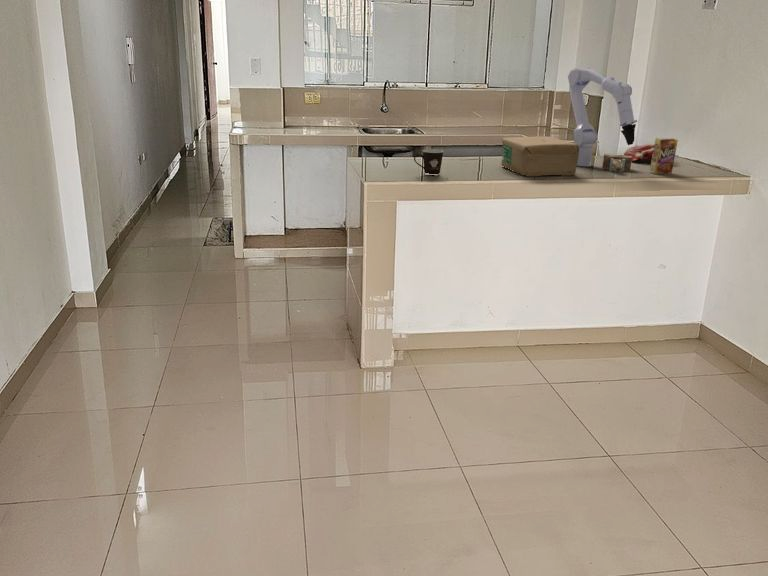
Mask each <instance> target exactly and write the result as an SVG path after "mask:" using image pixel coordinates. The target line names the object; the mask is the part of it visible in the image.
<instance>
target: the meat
mask: <svg viewBox="0 0 768 576" xmlns="http://www.w3.org/2000/svg"><path fill="white" fill-rule="evenodd" d="M654 144H655V143H649V144H648V143H647V144H642V145H639V144H638V145H637V144H636V145H634V146H631V147H628V148H627V149H626V150H625V152H623V153H624V154H623V155H625V156H632V162H633V161H637V160H641V159H642V160H652V155H653V150H654Z"/></svg>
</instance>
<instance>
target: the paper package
mask: <svg viewBox="0 0 768 576" xmlns="http://www.w3.org/2000/svg"><path fill="white" fill-rule="evenodd" d="M501 142H502V157H501V164H500V166H501V165H502V166H504V167H506V168H509V169H511V170H513V171H515V172H517V173H516V174H518V173H520V174H522V175H521V176H523V175H526V176H525V177H538V176H537V175H562V176H573V175H574V176H575V174H576V171H577V167H578V166H577V162H578V156H579V148H580V147H579V146H578V145H577V144H575V142H574V143H573V142H569V141H566V140H563V139H559V138H555V137H552V136H549V135H548V136H547V135H545V136H544V135H542V136H540V135H539V136H516V137H514V136H512V137H502V141H501ZM513 171H512V172H513ZM515 172H514V173H515ZM520 174H519V175H520Z"/></svg>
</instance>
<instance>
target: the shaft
mask: <svg viewBox="0 0 768 576" xmlns="http://www.w3.org/2000/svg"><path fill="white" fill-rule="evenodd" d="M623 168H624V165H623V163H622V162H621V160H613V165H612V169H613V171H612V172H615V173H622V172H621V171H622V170H623Z"/></svg>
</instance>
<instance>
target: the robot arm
mask: <svg viewBox="0 0 768 576" xmlns="http://www.w3.org/2000/svg"><path fill="white" fill-rule="evenodd" d="M567 78H568V79H567V80H568V84H569V88H568V90H569V91H568V92H569V95H570V100H571V106H572V109H573V110H572V111H573V114H574V119H575V122H576V123H575V124H576V128H575V129H574V130H573V135H574V136H573V142H574V144H577V145H578V146H579V147H580V148H579V156H578V162H577V167H587V168H588V167H590V168H591V167H592V163H591V162H592V155H593V148H594V146H595V144H596V143H597V141H598V134H597V132H596V131H595V128H594V126H593V125H591V124H590V121H589V118H588V112H587V107H586V104H585V99H584V93H583V90H584V89H585V88H586V87H587V86H588V85H589V84H590V82H594V83H596V84H598V85H600V86H601V89H602V90H604V91H605V92H606V93H609V94H610V95H612V97H613V98H614V99H615V102H616V106H617V113H618V118H619V123H620V124H619V125H620V127H621V129H622V130H621V131H620V132H621V133H622V135H623V137H624V140H625V141H626V142H625V143H626V144H627V145H628V146H631V145H633V144H634V142H635V133H636V132H635V130H636V125H637V124H636V123H637V122H638V119H635V117H634V112H633V111H634V110H633V106H632V99H631V96H632V94H633V90H632V89H633V88H632V86H631V85H630V84H628V83H625V84H623V82H622V81H618V80H616V79H615V77H613V76H609V77H605V76H603V75H601V74H600V73H599V72H596V71H595V70H594V69H593V68H590V67H586V68H585V67H584V68H576V67H574V68H572V69H571V70H570V72H569V73H568V75H567Z"/></svg>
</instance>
